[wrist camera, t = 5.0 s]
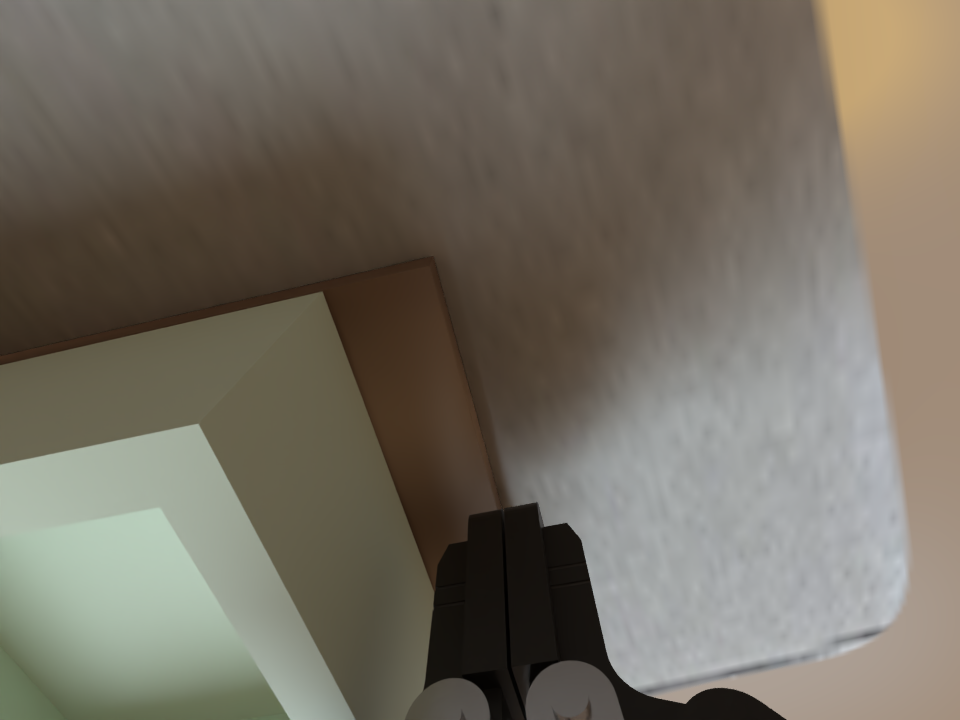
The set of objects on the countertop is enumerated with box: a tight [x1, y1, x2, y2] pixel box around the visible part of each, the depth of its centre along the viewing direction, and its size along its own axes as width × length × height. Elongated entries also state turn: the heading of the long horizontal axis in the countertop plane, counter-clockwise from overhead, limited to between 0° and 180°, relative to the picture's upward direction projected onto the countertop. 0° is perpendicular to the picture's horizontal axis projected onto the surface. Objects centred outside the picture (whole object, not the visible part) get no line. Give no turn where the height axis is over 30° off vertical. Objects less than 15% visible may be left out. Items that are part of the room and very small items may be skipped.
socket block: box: [0, 291, 434, 720], centre depth 11 cm, size 12×12×5 cm
